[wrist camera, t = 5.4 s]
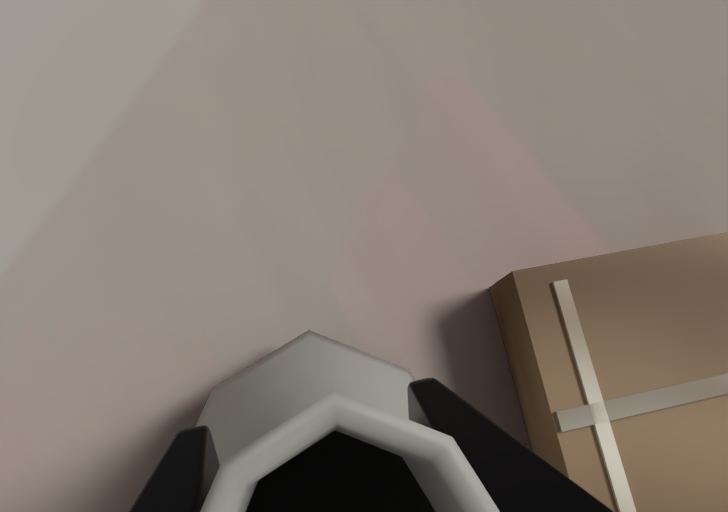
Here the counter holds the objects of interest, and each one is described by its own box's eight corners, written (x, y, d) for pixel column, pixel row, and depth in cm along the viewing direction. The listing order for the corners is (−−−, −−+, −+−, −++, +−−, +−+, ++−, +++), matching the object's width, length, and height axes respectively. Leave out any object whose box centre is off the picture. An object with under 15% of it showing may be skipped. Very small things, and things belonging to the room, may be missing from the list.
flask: (110, 505, 14) (-278, 664, 5) (305, 286, 16) (309, 85, 7) (337, 716, 14) (422, 1412, 4) (512, 458, 16) (846, 509, 6)
